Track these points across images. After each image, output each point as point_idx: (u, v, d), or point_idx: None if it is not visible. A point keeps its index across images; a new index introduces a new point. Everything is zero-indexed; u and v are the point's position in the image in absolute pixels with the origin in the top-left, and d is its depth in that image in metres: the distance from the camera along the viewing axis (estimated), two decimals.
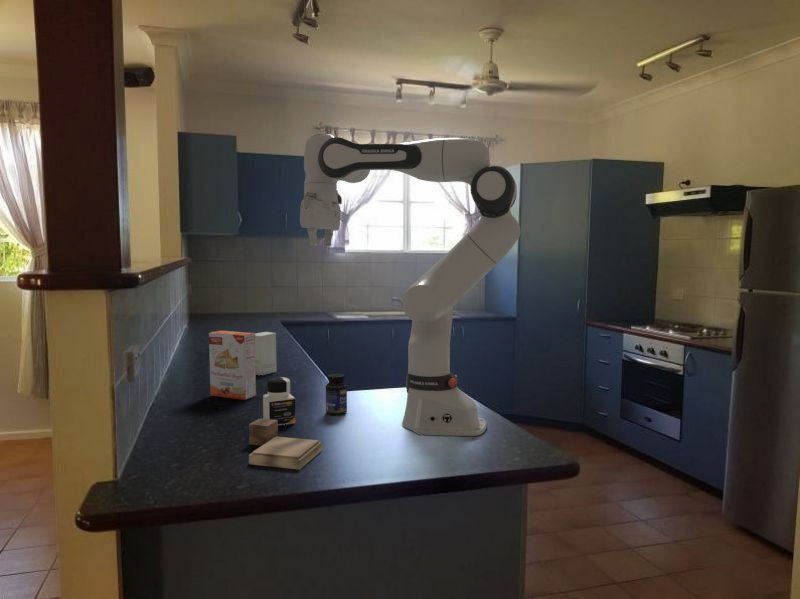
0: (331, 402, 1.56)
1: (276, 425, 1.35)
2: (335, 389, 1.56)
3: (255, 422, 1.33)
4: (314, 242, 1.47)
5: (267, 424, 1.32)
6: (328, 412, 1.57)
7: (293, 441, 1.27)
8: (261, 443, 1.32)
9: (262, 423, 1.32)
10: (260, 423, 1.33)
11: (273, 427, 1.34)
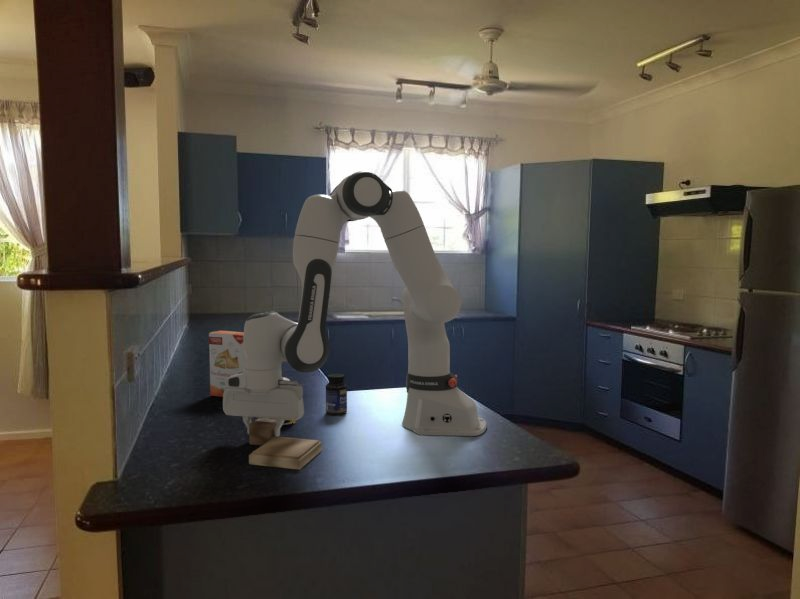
0: (331, 402, 1.56)
1: (276, 425, 1.35)
2: (335, 389, 1.56)
3: (255, 422, 1.33)
4: (279, 432, 1.33)
5: (267, 424, 1.32)
6: (328, 412, 1.57)
7: (293, 441, 1.27)
8: (261, 443, 1.31)
9: (262, 423, 1.32)
10: (260, 422, 1.33)
11: (273, 426, 1.33)
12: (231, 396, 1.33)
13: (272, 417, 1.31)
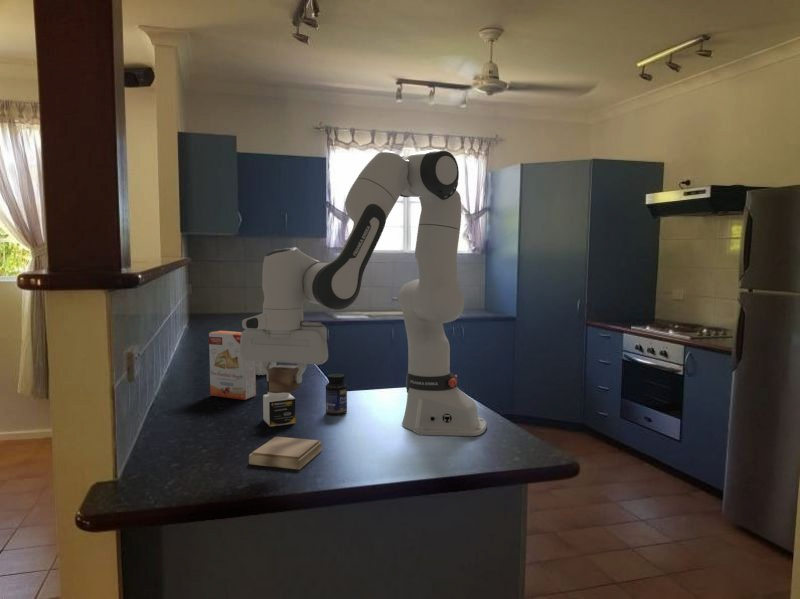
0: (331, 402, 1.56)
1: (297, 371, 1.24)
2: (335, 389, 1.56)
3: (275, 367, 1.23)
4: (301, 378, 1.23)
5: (288, 369, 1.21)
6: (328, 412, 1.57)
7: (293, 441, 1.27)
8: (282, 389, 1.21)
9: (283, 368, 1.22)
10: (280, 368, 1.22)
11: (294, 373, 1.23)
12: (249, 340, 1.23)
13: (294, 361, 1.20)
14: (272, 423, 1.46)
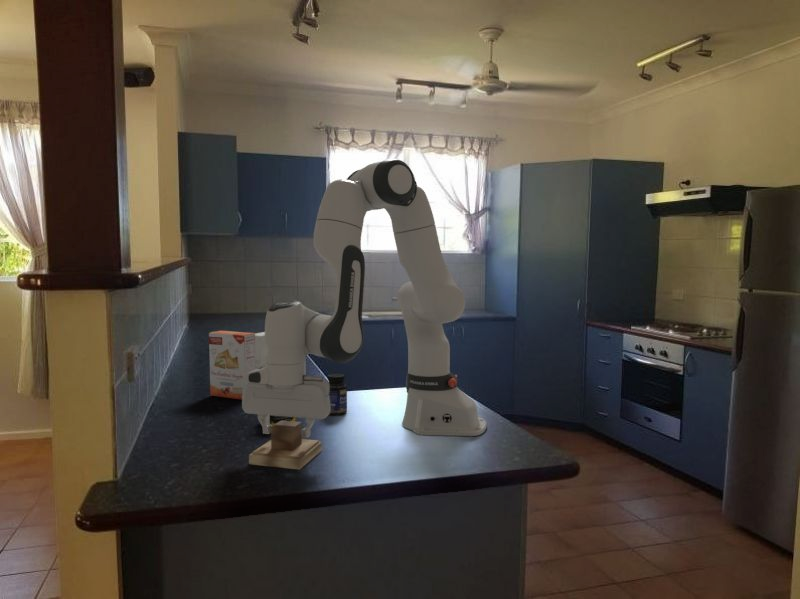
0: (331, 402, 1.56)
1: (300, 428, 1.25)
2: (335, 389, 1.56)
3: (277, 424, 1.23)
4: (309, 432, 1.23)
5: (291, 427, 1.21)
6: None
7: None
8: (284, 447, 1.21)
9: (285, 426, 1.22)
10: (283, 425, 1.23)
11: (297, 430, 1.23)
12: (251, 393, 1.23)
13: (296, 416, 1.21)
14: (272, 423, 1.46)
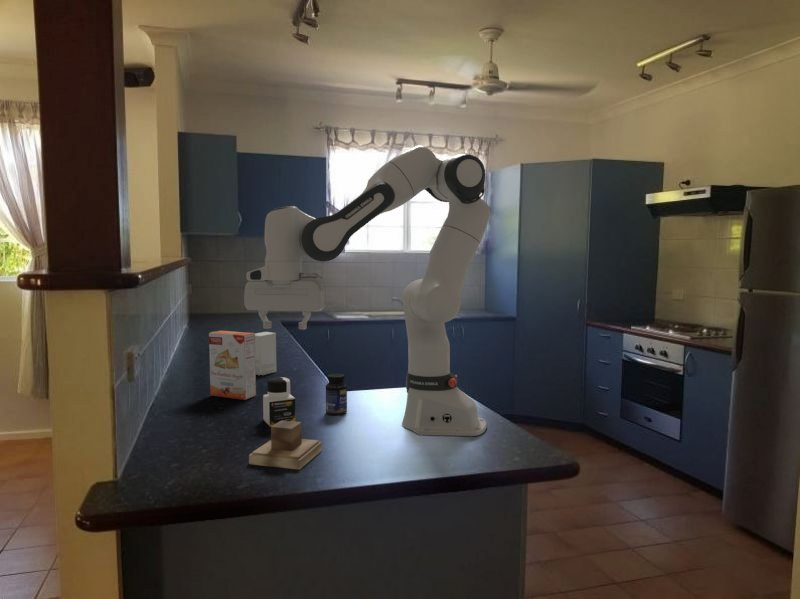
0: (331, 402, 1.56)
1: (300, 428, 1.25)
2: (335, 389, 1.56)
3: (277, 424, 1.23)
4: (306, 325, 1.36)
5: (291, 427, 1.21)
6: (328, 412, 1.57)
7: None
8: (284, 447, 1.21)
9: (285, 426, 1.22)
10: (283, 425, 1.23)
11: (297, 430, 1.23)
12: (252, 291, 1.36)
13: (294, 309, 1.34)
14: (272, 423, 1.46)
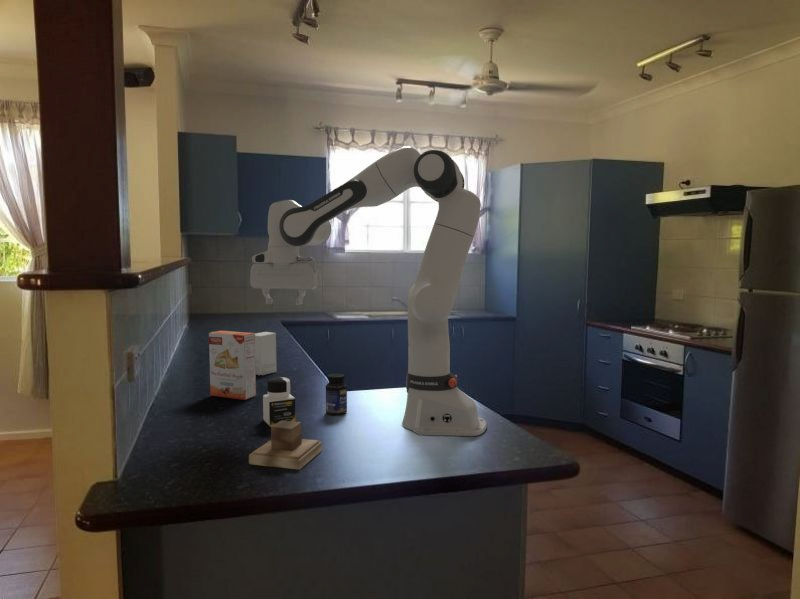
0: (331, 402, 1.56)
1: (300, 428, 1.25)
2: (335, 389, 1.56)
3: (277, 424, 1.23)
4: (302, 301, 1.60)
5: (291, 427, 1.21)
6: (328, 412, 1.57)
7: None
8: (284, 447, 1.21)
9: (285, 426, 1.22)
10: (283, 425, 1.23)
11: (297, 430, 1.23)
12: (257, 271, 1.60)
13: (291, 287, 1.58)
14: (272, 423, 1.46)
